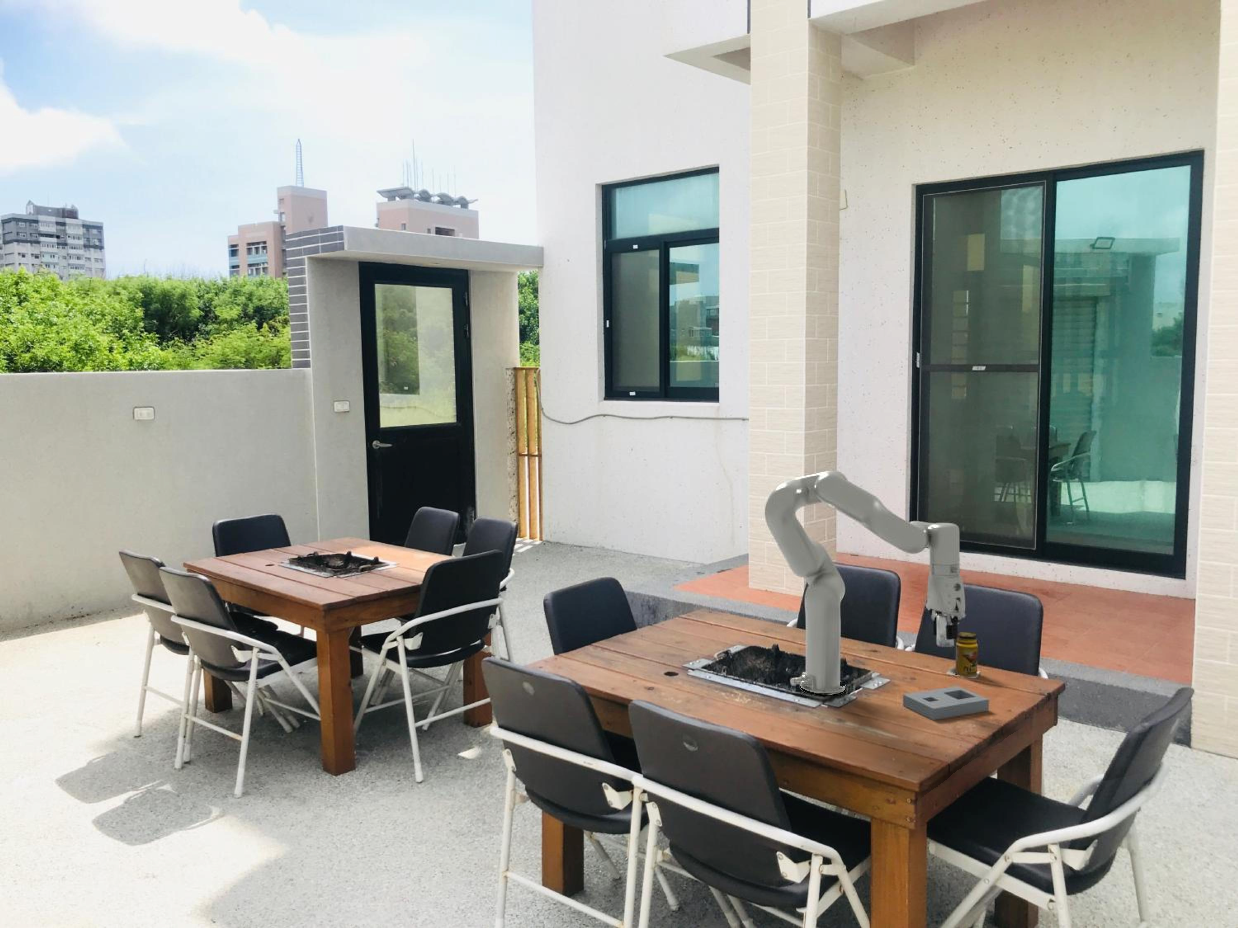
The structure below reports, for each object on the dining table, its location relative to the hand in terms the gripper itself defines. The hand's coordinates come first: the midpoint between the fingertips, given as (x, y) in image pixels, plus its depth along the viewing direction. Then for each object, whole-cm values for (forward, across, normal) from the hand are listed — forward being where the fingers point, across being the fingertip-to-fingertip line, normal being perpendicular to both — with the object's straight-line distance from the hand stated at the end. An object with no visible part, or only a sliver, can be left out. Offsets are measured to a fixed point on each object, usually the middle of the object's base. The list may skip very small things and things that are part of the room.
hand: (945, 636), depth 260 cm
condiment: (+18, +18, -22) cm, 34 cm away
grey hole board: (+18, -4, +3) cm, 19 cm away
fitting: (+2, 0, 0) cm, 2 cm away
